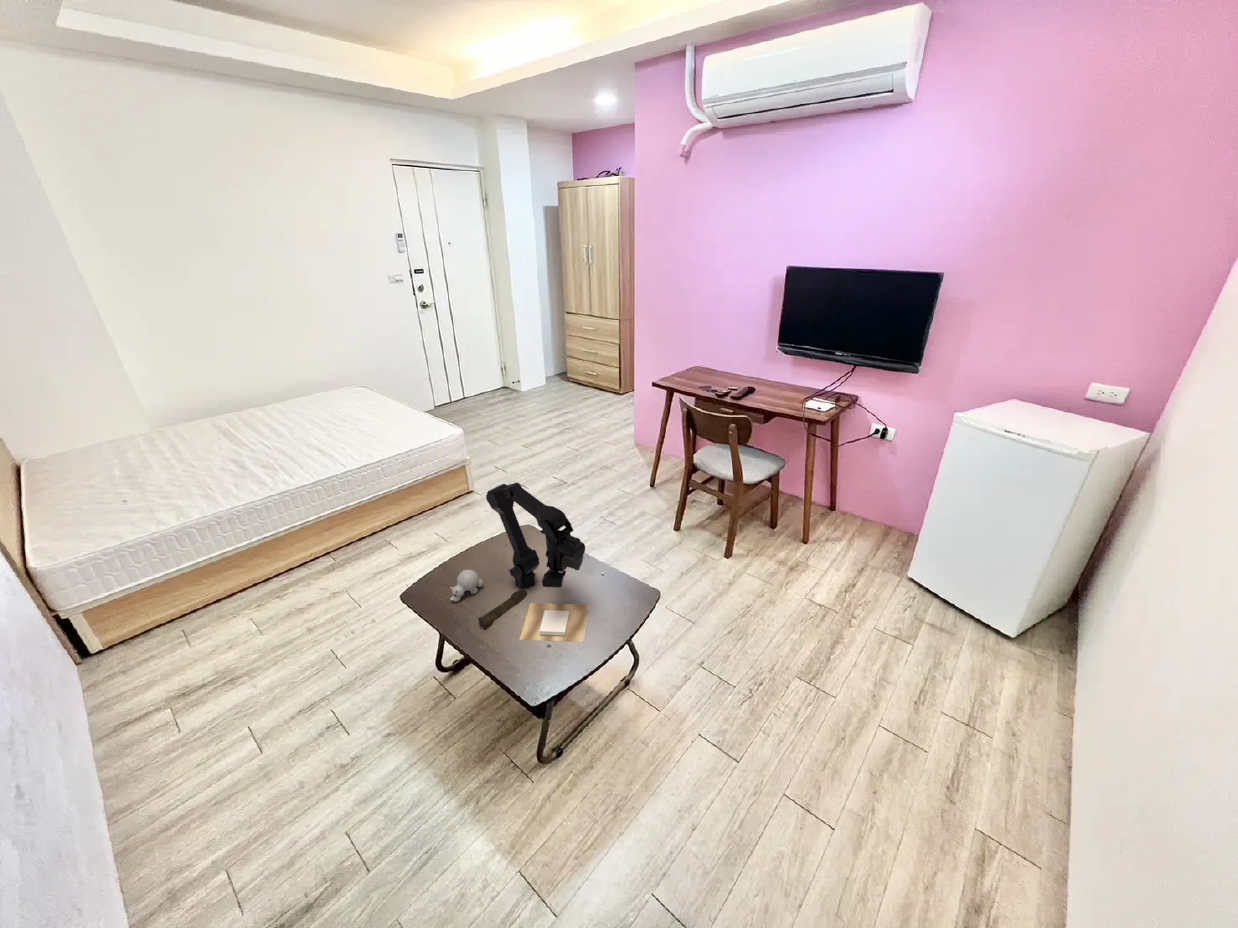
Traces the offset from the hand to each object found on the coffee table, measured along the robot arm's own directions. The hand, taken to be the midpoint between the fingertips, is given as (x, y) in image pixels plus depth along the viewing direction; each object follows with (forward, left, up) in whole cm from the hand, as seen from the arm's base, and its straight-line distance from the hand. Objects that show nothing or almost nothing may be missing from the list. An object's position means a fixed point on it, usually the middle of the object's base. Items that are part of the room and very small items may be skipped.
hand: (558, 585), depth 157 cm
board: (0, -8, -9) cm, 12 cm away
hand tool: (-18, -3, -9) cm, 21 cm away
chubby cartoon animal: (-34, +4, -9) cm, 36 cm away
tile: (0, -6, -7) cm, 9 cm away
